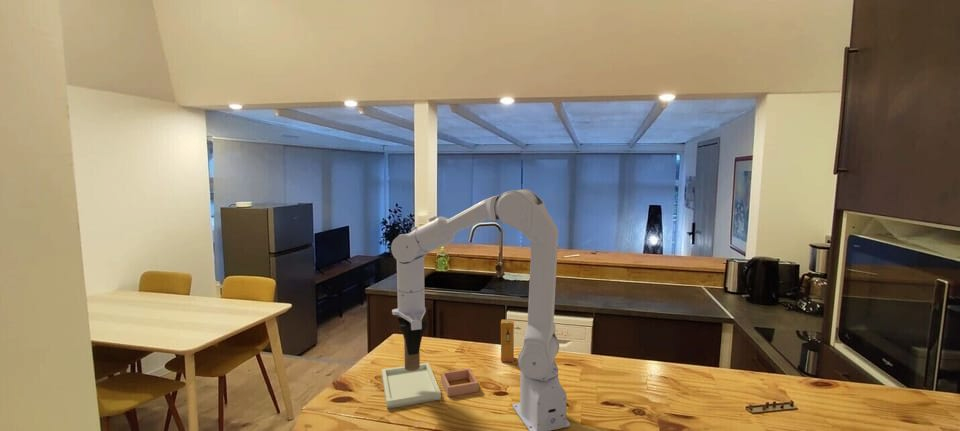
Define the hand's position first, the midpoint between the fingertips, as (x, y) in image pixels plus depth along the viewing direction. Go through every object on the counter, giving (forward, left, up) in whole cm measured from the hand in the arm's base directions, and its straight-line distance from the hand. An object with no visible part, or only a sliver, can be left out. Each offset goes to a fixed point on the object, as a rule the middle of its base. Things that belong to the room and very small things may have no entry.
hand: (412, 350), depth 87 cm
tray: (+1, 0, -9) cm, 9 cm away
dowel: (0, 0, -4) cm, 4 cm away
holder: (-2, -10, -9) cm, 13 cm away
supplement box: (+7, -25, -9) cm, 27 cm away
